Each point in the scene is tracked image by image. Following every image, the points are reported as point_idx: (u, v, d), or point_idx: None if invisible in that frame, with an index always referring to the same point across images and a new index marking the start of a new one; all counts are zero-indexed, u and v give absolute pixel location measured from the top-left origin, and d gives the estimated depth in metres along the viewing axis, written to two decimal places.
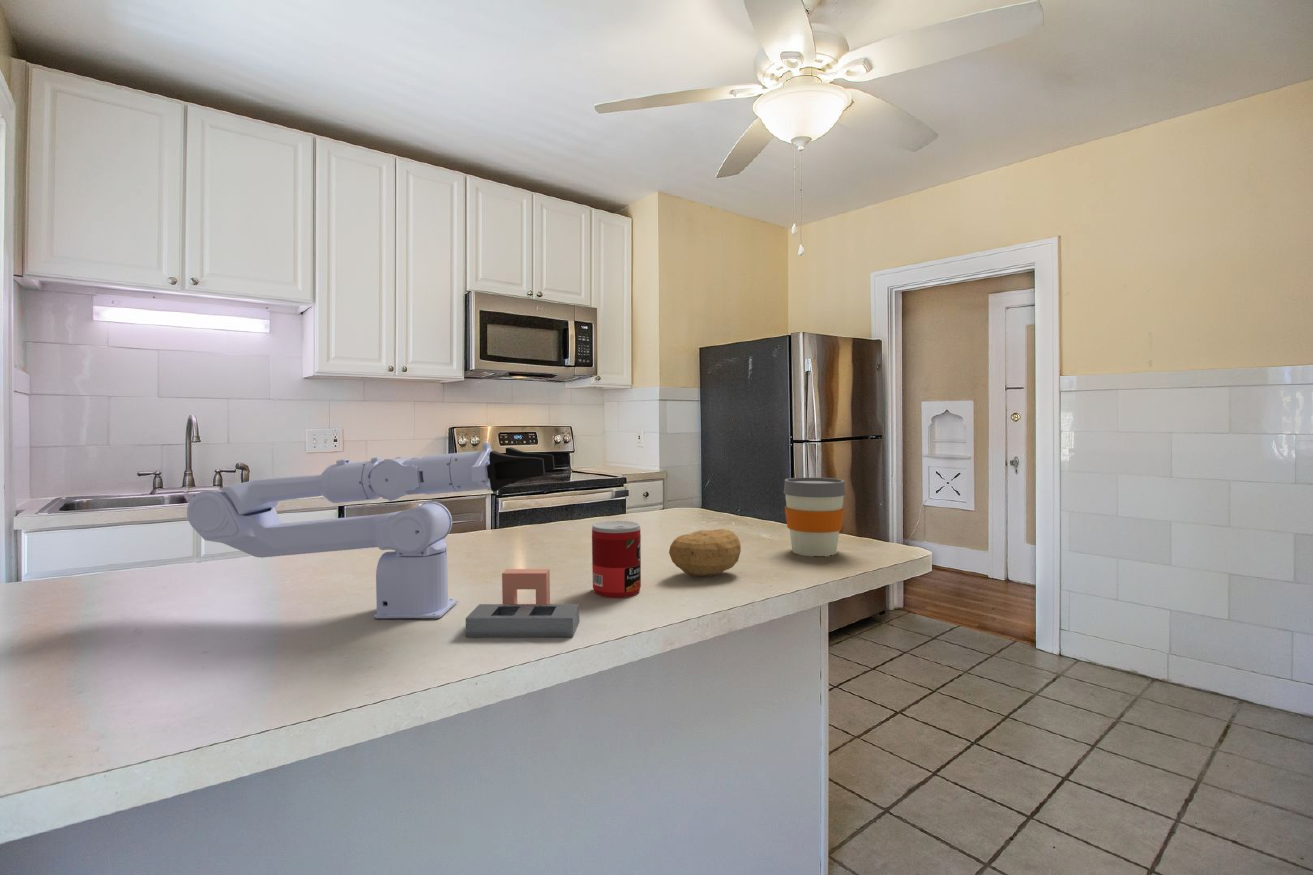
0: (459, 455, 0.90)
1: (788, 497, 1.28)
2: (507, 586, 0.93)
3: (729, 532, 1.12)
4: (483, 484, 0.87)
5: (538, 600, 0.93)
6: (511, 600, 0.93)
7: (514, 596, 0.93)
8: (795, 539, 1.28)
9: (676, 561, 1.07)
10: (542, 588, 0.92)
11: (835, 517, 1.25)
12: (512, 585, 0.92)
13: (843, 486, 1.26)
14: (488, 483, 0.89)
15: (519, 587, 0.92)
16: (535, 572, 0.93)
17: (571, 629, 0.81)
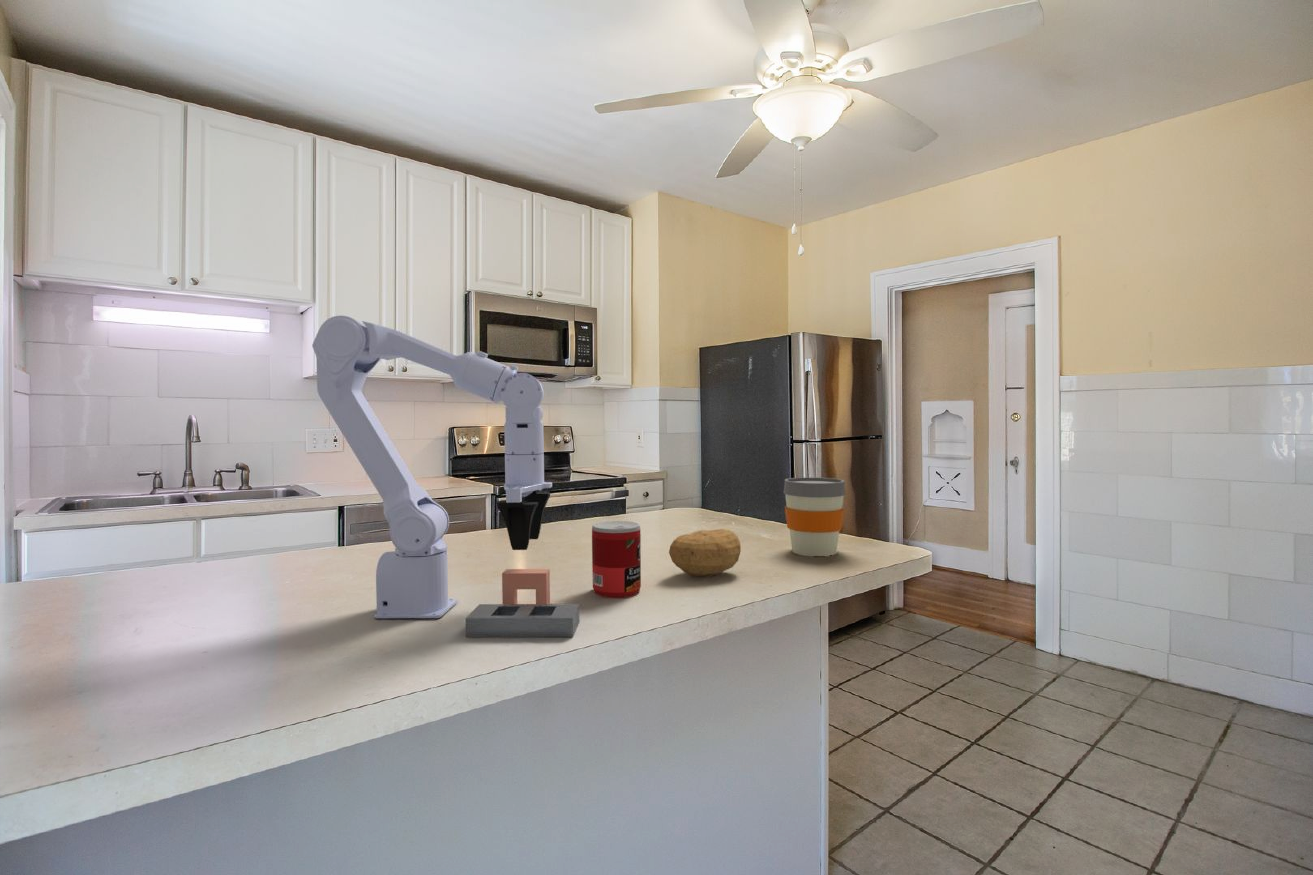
0: (538, 461, 0.92)
1: (788, 497, 1.28)
2: (507, 586, 0.93)
3: (729, 532, 1.12)
4: (506, 489, 0.89)
5: (538, 600, 0.93)
6: (511, 600, 0.93)
7: (514, 596, 0.93)
8: (795, 539, 1.28)
9: (676, 561, 1.07)
10: (542, 588, 0.92)
11: (835, 517, 1.25)
12: (512, 585, 0.92)
13: (843, 486, 1.26)
14: None
15: (519, 587, 0.92)
16: (535, 572, 0.93)
17: (571, 629, 0.81)
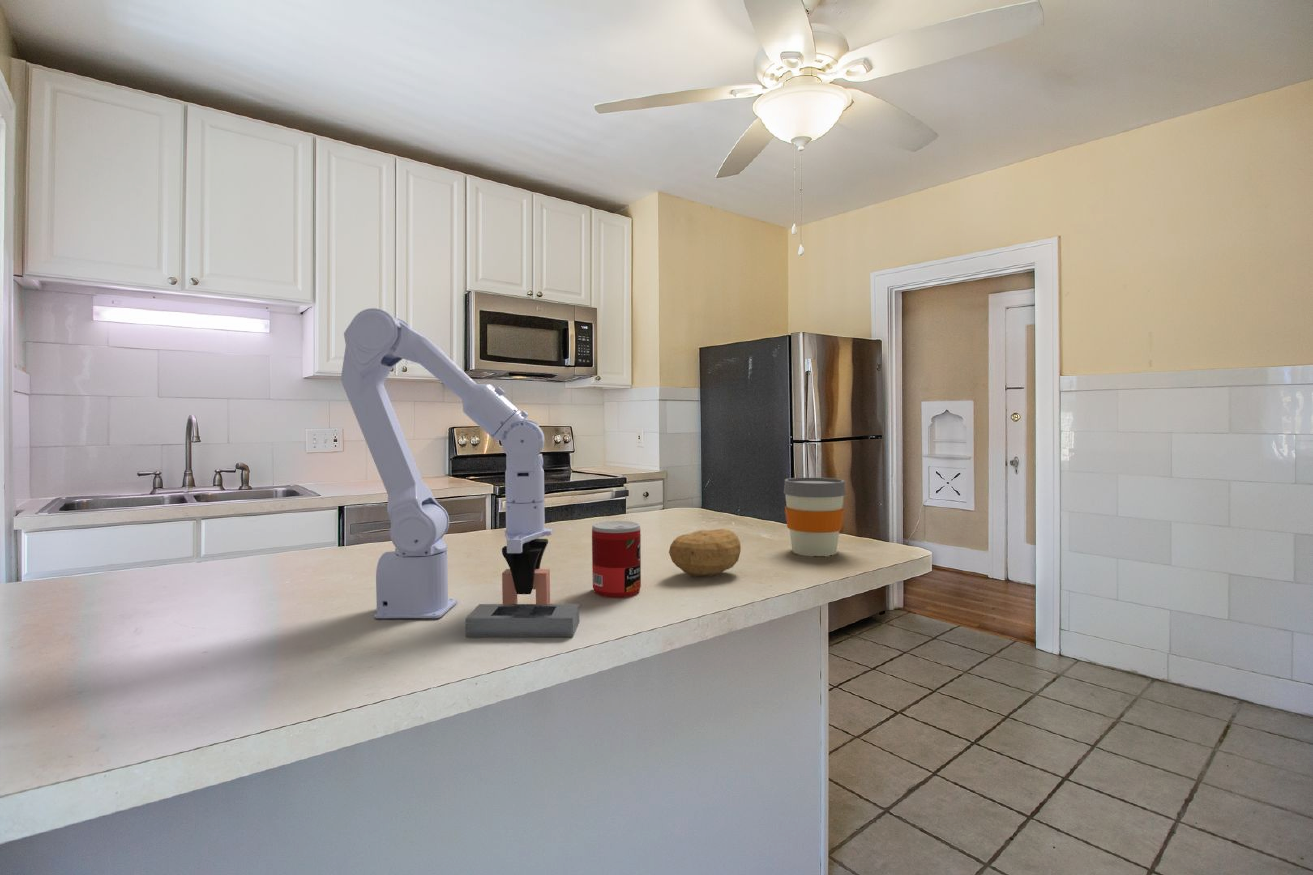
0: (539, 509, 0.92)
1: (788, 497, 1.28)
2: (507, 586, 0.92)
3: (729, 532, 1.12)
4: (506, 538, 0.90)
5: (538, 600, 0.93)
6: (511, 600, 0.93)
7: (514, 596, 0.93)
8: (795, 539, 1.28)
9: (676, 561, 1.07)
10: (542, 588, 0.92)
11: (835, 517, 1.25)
12: (512, 585, 0.92)
13: (843, 486, 1.26)
14: None
15: None
16: (535, 572, 0.93)
17: (571, 629, 0.81)
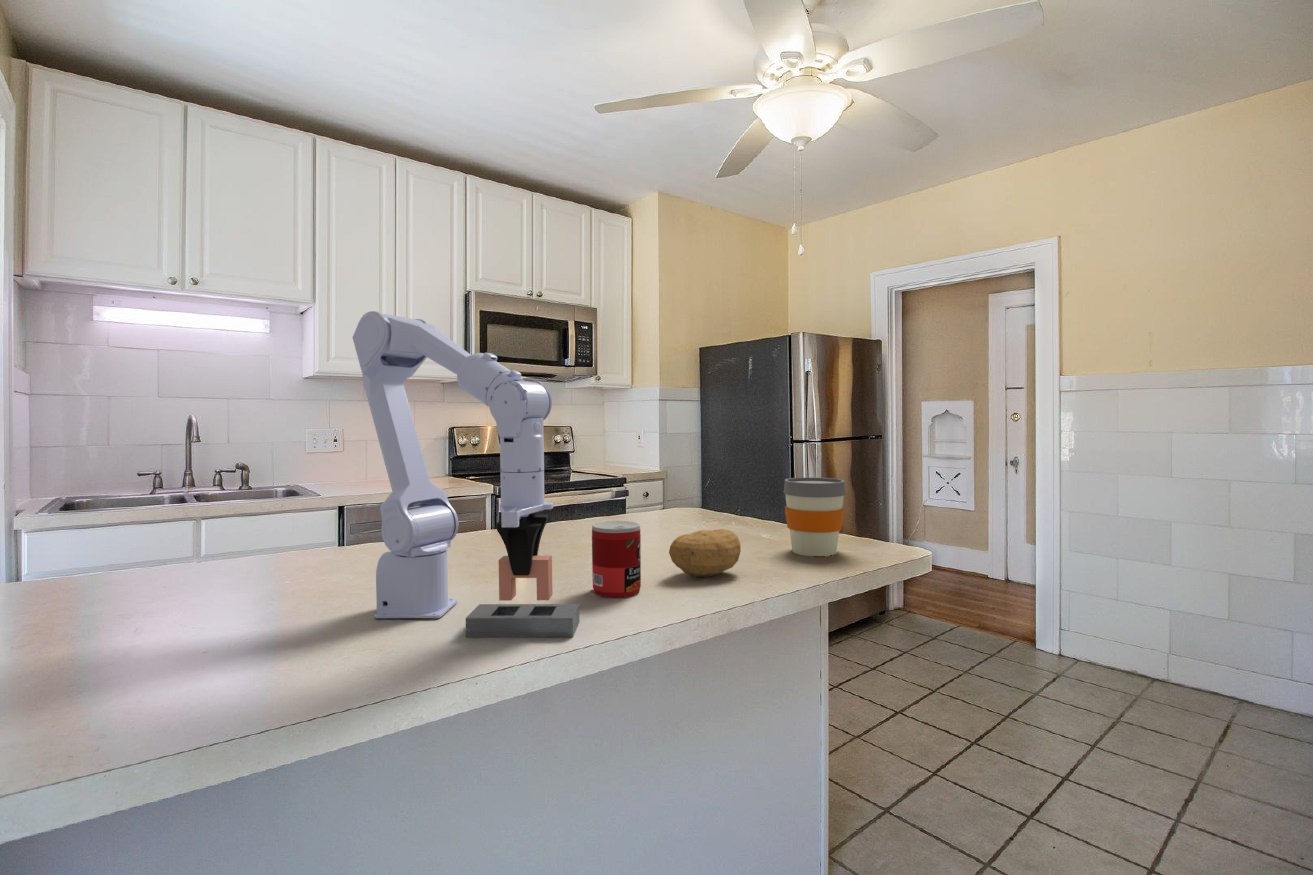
0: (538, 479, 0.82)
1: (788, 497, 1.28)
2: (504, 574, 0.82)
3: (729, 532, 1.12)
4: (501, 512, 0.79)
5: (539, 590, 0.82)
6: (509, 590, 0.82)
7: (512, 586, 0.83)
8: (795, 539, 1.28)
9: (676, 561, 1.07)
10: (544, 576, 0.82)
11: (835, 517, 1.25)
12: (510, 573, 0.82)
13: (843, 486, 1.26)
14: None
15: (518, 575, 0.82)
16: (536, 559, 0.83)
17: (571, 629, 0.81)
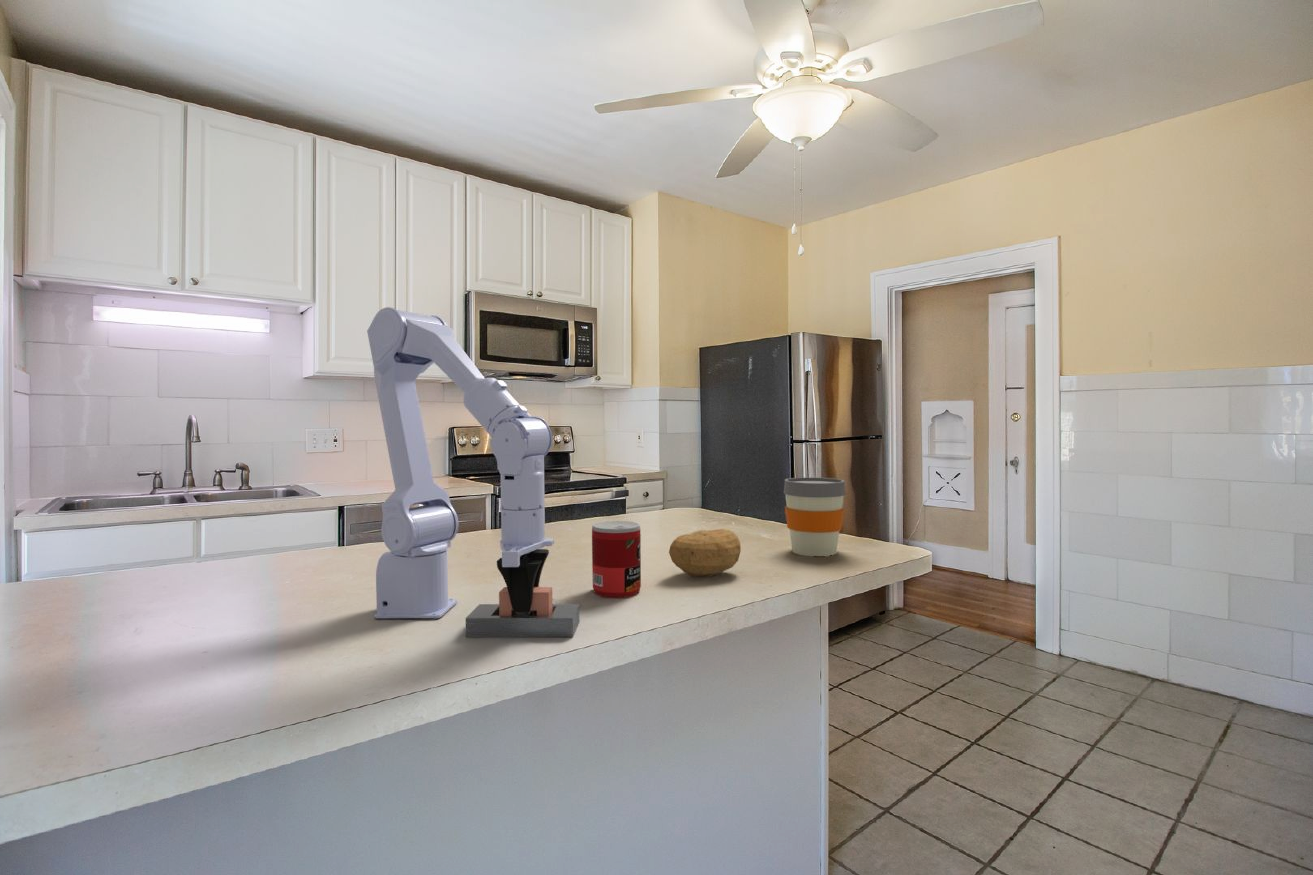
0: (539, 516, 0.82)
1: (788, 497, 1.28)
2: (505, 607, 0.82)
3: (729, 532, 1.12)
4: (502, 550, 0.79)
5: None
6: None
7: None
8: (795, 539, 1.28)
9: (676, 561, 1.07)
10: (544, 609, 0.82)
11: (835, 517, 1.25)
12: (510, 606, 0.82)
13: (843, 486, 1.26)
14: None
15: None
16: (536, 591, 0.83)
17: (571, 629, 0.81)
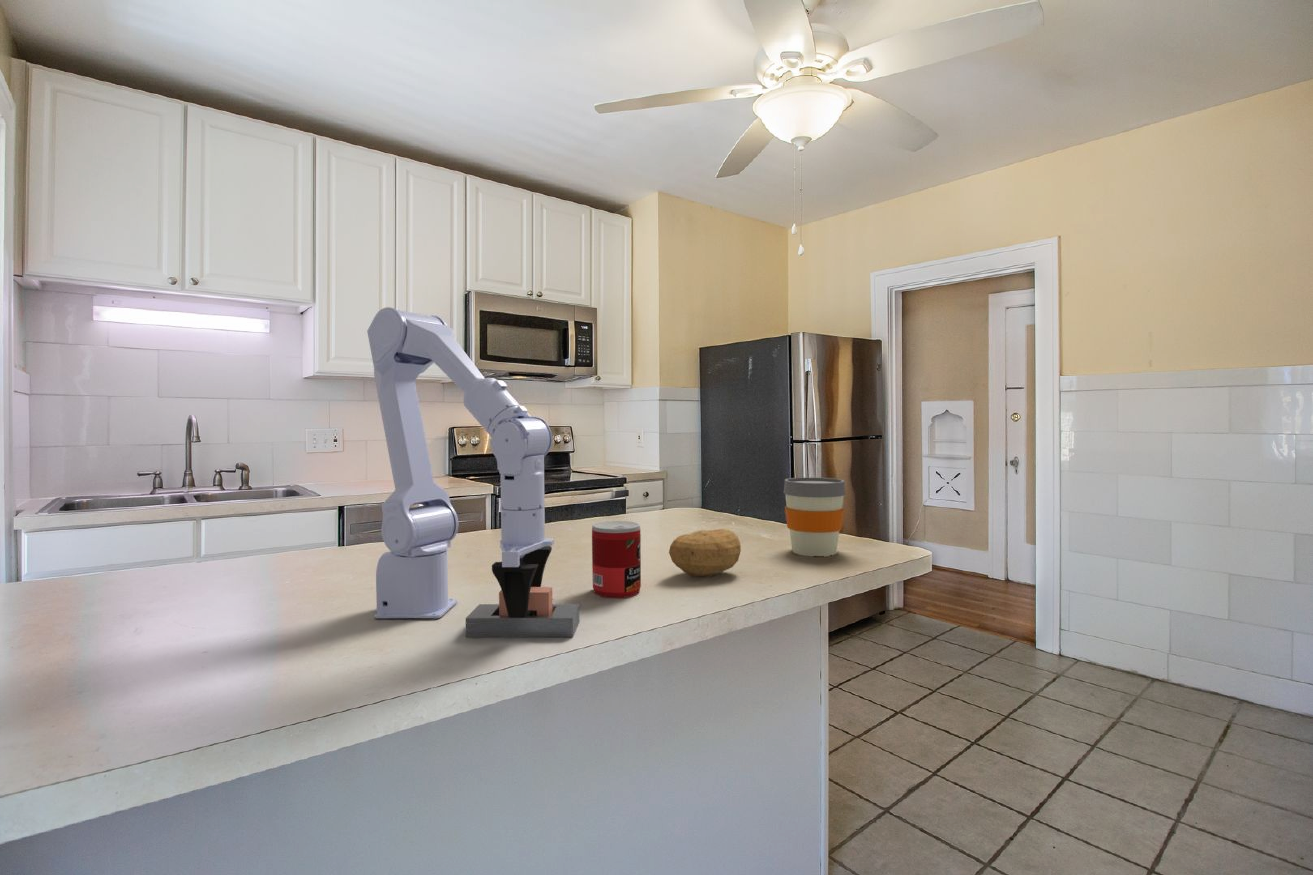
0: (539, 516, 0.82)
1: (788, 497, 1.28)
2: (505, 607, 0.82)
3: (729, 532, 1.12)
4: (502, 550, 0.79)
5: None
6: None
7: None
8: (795, 539, 1.28)
9: (676, 561, 1.07)
10: (544, 609, 0.82)
11: (835, 517, 1.25)
12: None
13: (843, 486, 1.26)
14: None
15: None
16: (536, 591, 0.83)
17: (571, 629, 0.81)
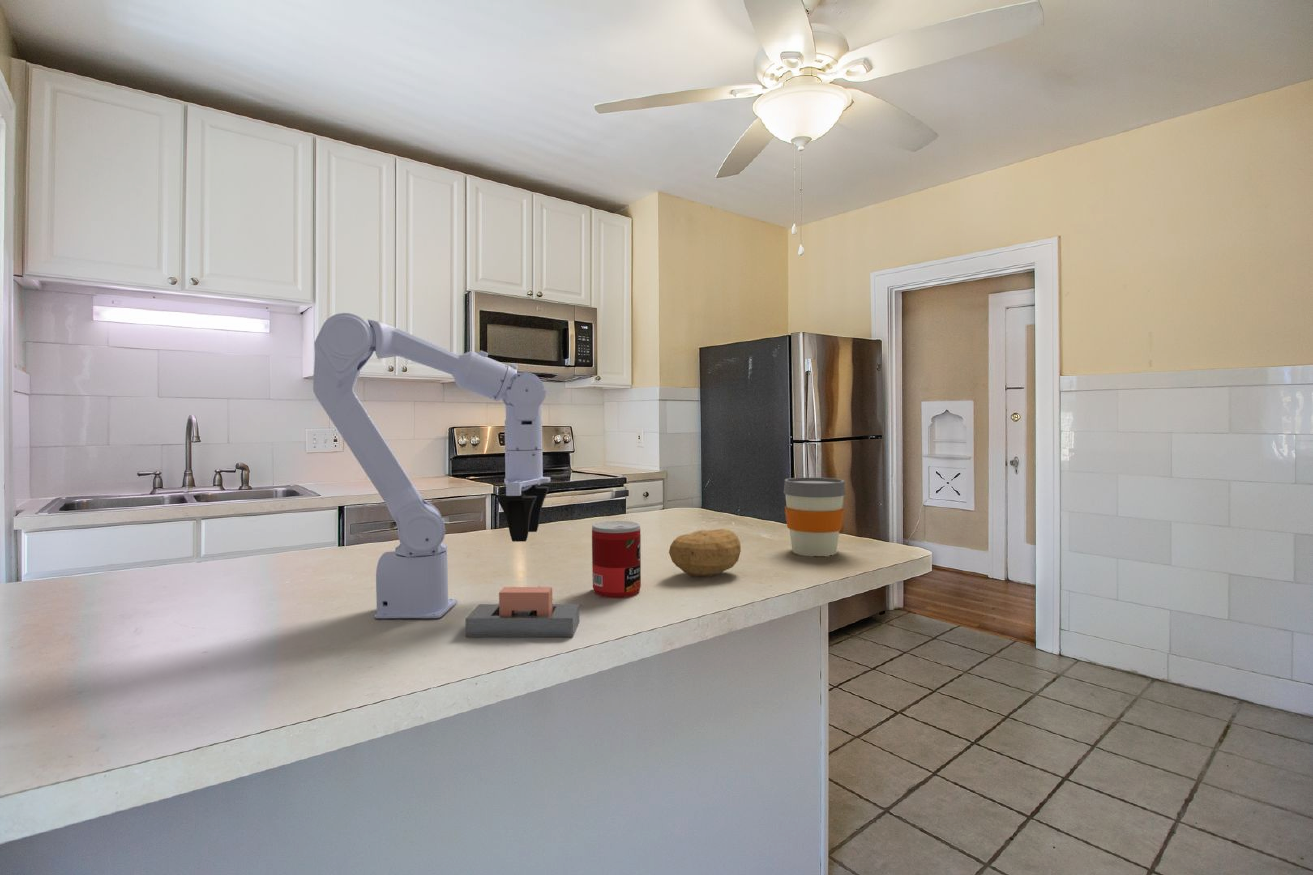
0: (537, 456, 0.96)
1: (788, 497, 1.28)
2: (505, 607, 0.82)
3: (729, 532, 1.12)
4: (506, 483, 0.93)
5: None
6: None
7: None
8: (795, 539, 1.28)
9: (676, 561, 1.07)
10: (544, 609, 0.82)
11: (835, 517, 1.25)
12: (510, 606, 0.82)
13: (843, 486, 1.26)
14: None
15: (518, 608, 0.82)
16: (536, 591, 0.83)
17: (571, 629, 0.81)
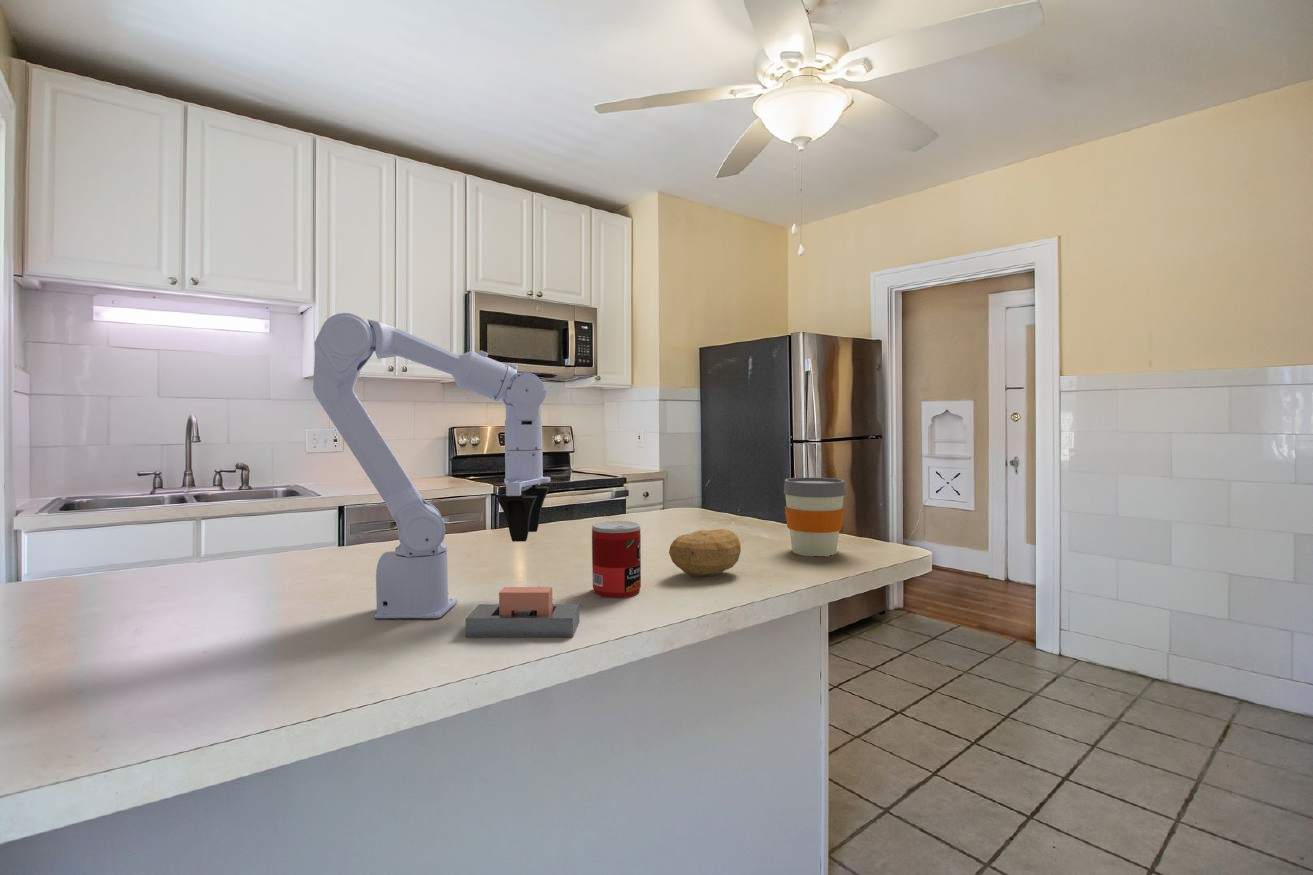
0: (537, 456, 0.96)
1: (788, 497, 1.28)
2: (505, 607, 0.82)
3: (729, 532, 1.12)
4: (506, 483, 0.93)
5: None
6: None
7: None
8: (795, 539, 1.28)
9: (676, 561, 1.07)
10: (544, 609, 0.82)
11: (835, 517, 1.25)
12: (510, 606, 0.82)
13: (843, 486, 1.26)
14: None
15: (518, 608, 0.82)
16: (536, 591, 0.83)
17: (571, 629, 0.81)
